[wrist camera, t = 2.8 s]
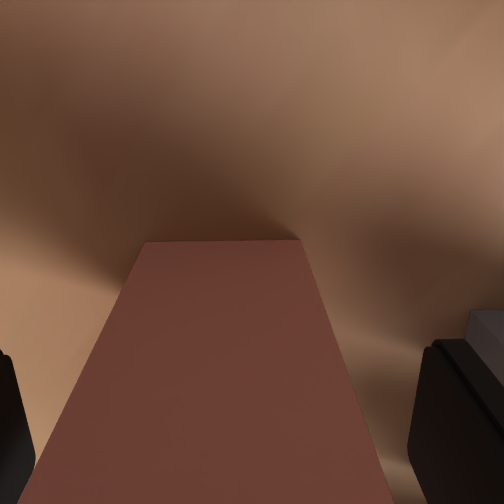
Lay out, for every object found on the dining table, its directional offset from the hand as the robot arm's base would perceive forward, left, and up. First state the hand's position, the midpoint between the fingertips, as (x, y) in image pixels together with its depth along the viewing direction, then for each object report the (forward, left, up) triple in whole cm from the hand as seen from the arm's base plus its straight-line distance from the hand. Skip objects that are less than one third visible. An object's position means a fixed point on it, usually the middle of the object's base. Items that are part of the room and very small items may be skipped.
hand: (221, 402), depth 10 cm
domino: (0, 0, -6) cm, 6 cm away
